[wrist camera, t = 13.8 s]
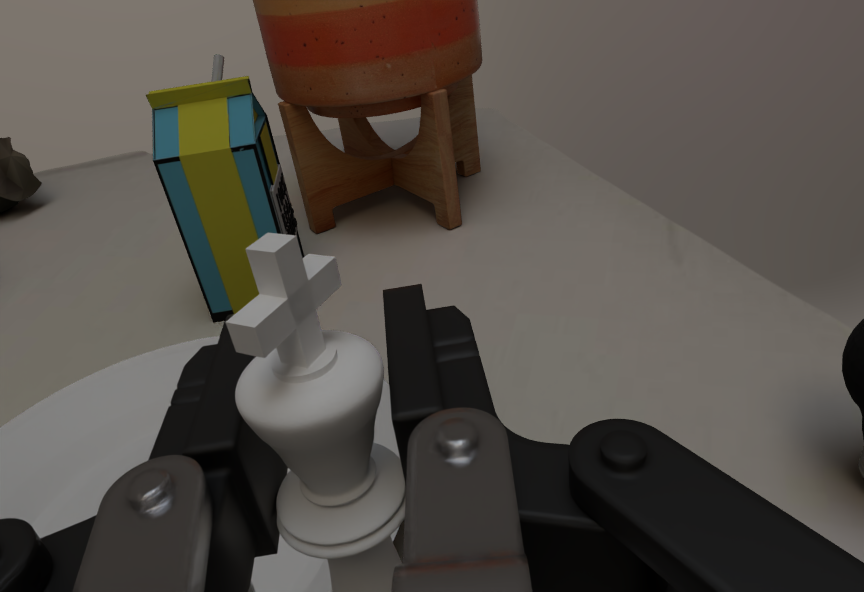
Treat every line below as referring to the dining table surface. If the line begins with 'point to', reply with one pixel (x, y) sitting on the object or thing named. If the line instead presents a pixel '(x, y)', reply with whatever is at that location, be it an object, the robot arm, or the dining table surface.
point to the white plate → (123, 453)
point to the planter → (375, 96)
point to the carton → (220, 181)
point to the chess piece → (319, 418)
